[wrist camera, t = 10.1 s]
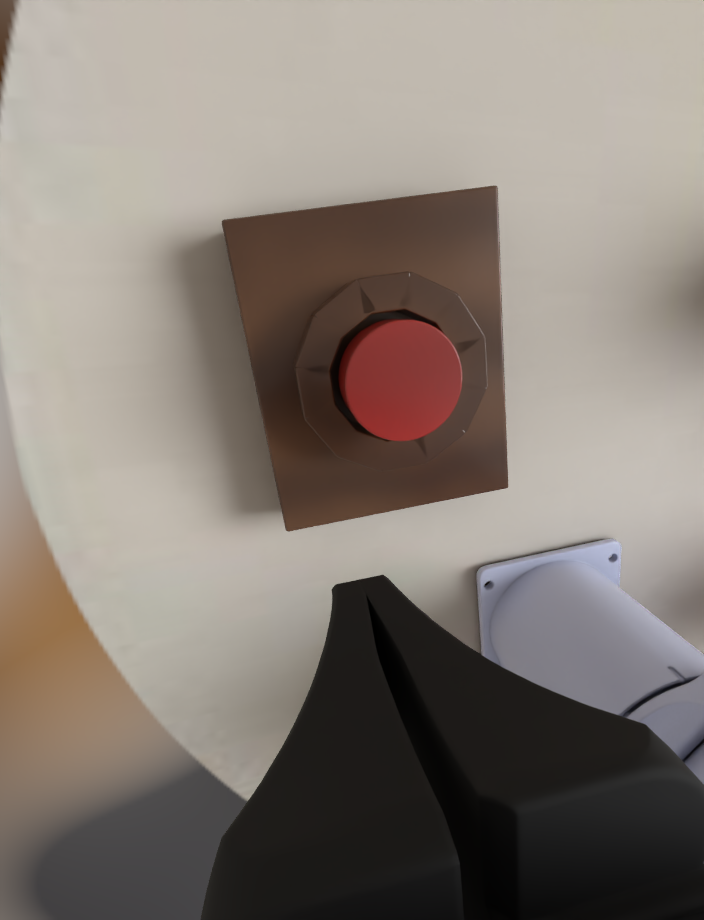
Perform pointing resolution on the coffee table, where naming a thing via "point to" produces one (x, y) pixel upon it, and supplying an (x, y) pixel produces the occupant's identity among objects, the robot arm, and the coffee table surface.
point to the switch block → (346, 314)
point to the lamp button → (400, 378)
